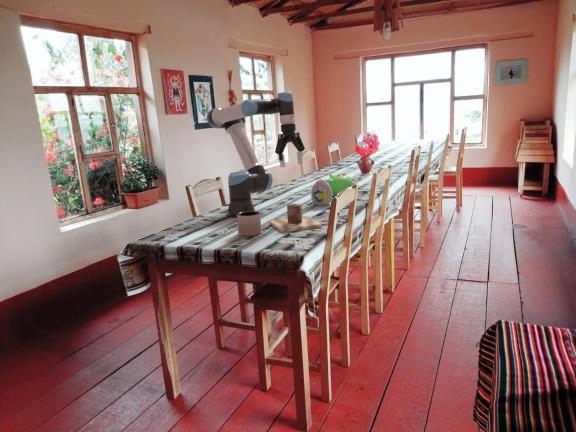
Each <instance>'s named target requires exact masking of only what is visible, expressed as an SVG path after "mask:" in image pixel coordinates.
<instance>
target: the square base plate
mask: <svg viewBox="0 0 576 432" xmlns="http://www.w3.org/2000/svg"><path fill="white" fill-rule="evenodd" d="M286 209H287V210H286V211H287V212H286V214H287V216H286V217H287V218H278V219H271V220H269V224H270V225H271V226H272V227H274V228H275V229H277V230H278V231H279V232H281V233H289V232H296V231H297V232H298V231H303V230H304V231H305V230H309V229H319V228H322V227H323V225H322V223H321V222H318V221H317V220H315V219H313V218H312V217H310V216H308V215H304V216H303V214H302V213H303V211H302V209H303V208H302V204H301V203H290V204H287V205H286Z"/></svg>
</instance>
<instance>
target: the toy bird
mask: <svg viewBox="0 0 576 432" xmlns="http://www.w3.org/2000/svg"><path fill="white" fill-rule="evenodd" d="M328 176H329V177H330V179H329V178H327V179H324V180H325V181H326V182H327V183H328V184H329V185H330V187H331V190H332V196H336V197H338V196H337V194H338V193H339V192H340V191H342V190H343V189H346V188H348V187H351V186H352V185H354V186H355V184H354V181H353V179H352V177H350V176H349V175H348V174H347V175H346V172H345V173H340V174H336V175H335V174H333V173H328Z"/></svg>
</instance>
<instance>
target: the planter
mask: <svg viewBox="0 0 576 432" xmlns="http://www.w3.org/2000/svg"><path fill="white" fill-rule="evenodd" d="M236 221H237V234H238V235H239V236H243V237H253V236H258V235H259V234H260V235H261V233H262V219H261V212H260V211H256V210H255V211H245V212H240V213H238V214H237V217H236Z"/></svg>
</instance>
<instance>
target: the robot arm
mask: <svg viewBox="0 0 576 432" xmlns="http://www.w3.org/2000/svg"><path fill="white" fill-rule="evenodd" d="M294 105H295V104H294V97H293V93H292V92H291V91H284V92H279V93H278V94H277V97H276V98H275V97H274V98H263V99H253V98H252V99H245V100H243V101H242V102H240V103H237V104H232V105H229V106H225V107H214V108H212V109H210V110H209V111H208V112H207V114H206V121H207V123H208V124H209V126H210V127H212V128H214V129H224V130H225V133H226V134H227V135H230V137H231V139H232V143H233V144H234V147H235V149H236V152H237V154H238V157H239V158H240V161H241V163H242V165H243V167H244V169H245V170H239V171H235V172H231V173H230V174H229V175H228V177H227V179H228V180H227V185H228V195H229V197H228V198H229V204H228V209H227V216H228V217H231V218H237V214H238V213H240V212H245V211H256V209H255V207H254V203H253V201H252V198H251V196H252V195H251V194H257V193H262V192H265V191H268V190H270V189H271V188H272V185H273V181H274V180H273V175H272V172H271V171H270V170H268V169H265V167H264V166H263V164H260V163H259V161H258V158H257V155H256V153H255V151H254V149H253V147H252V145H251V143H250V142H251V141H250V139H249V138H248V135H247V133H246V131H245V126H246V120H247V119H246V118H247V117H251V116H252V117H253V116H257V115H274V114H279V123H280V131H281V133H278V134H277V142H276V146H275V151H274V152H275V154H277V155H278V161H279V167H280V168H286V161H285V160H286V159H285V153H284V151H285V150H286V147H287V145H288V143H292V145H293V146H294V148H295V149H296V150H297V151H296V157H297V164H298V165H303V164H304V161H303V157H304V155H303V152H304V151H305V149H306V147H305V145H304V143H303V141H302V138H301V135H300V134H301V133H300V132H296V130H297V128H296V123H295V122H296V120H295V109H294Z"/></svg>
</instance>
